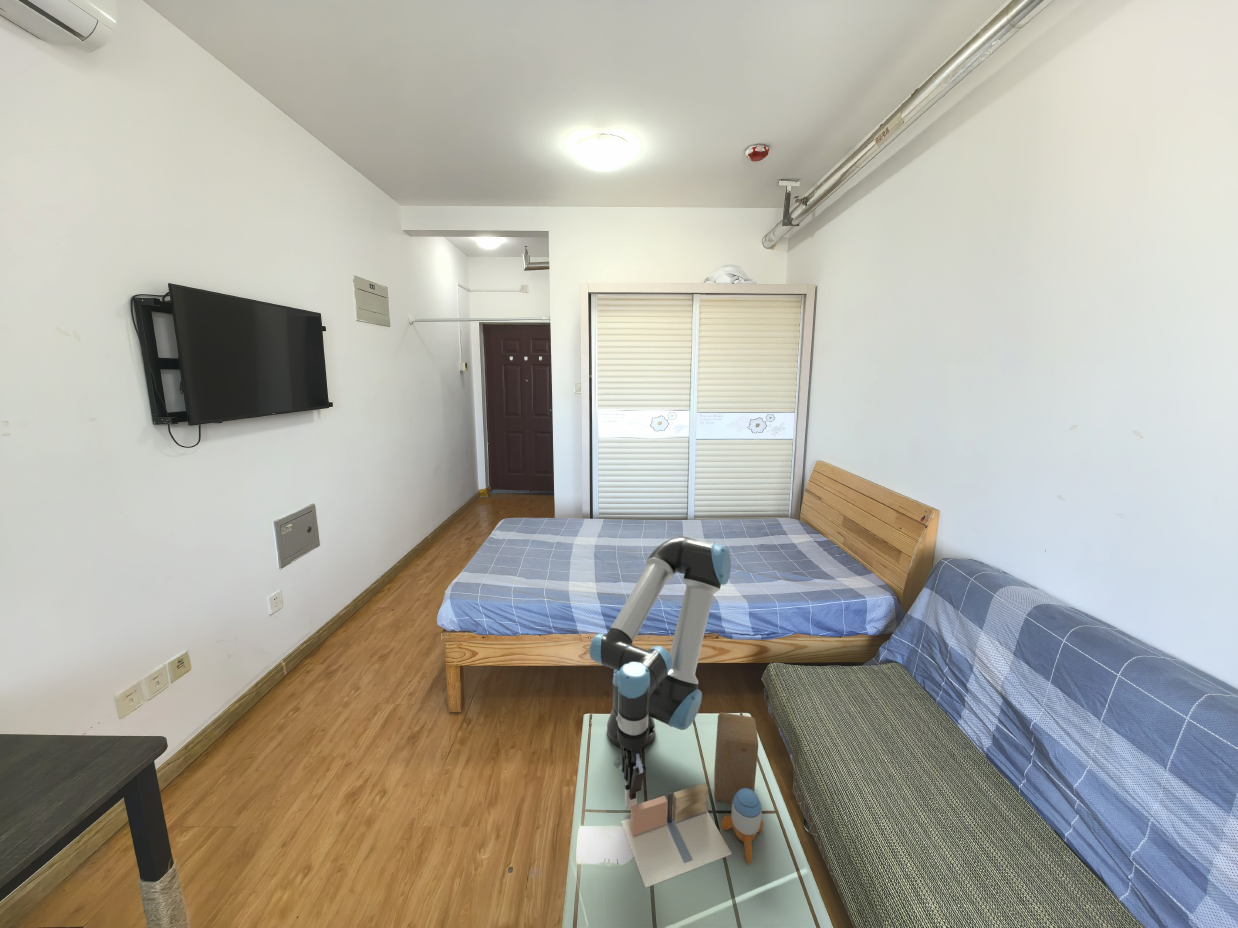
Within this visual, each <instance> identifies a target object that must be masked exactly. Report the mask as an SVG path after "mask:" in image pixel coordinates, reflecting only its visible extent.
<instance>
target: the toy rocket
mask: <svg viewBox="0 0 1238 928" xmlns="http://www.w3.org/2000/svg"><path fill="white" fill-rule="evenodd" d="M762 813H763V812H762V803H761V800H760V798H759V796H758V794H757V793H756V792H755V790H754V791H753V790H751V789H748V788H742V789H740V790H739V791H738V792H737V793H736V794H735V796H734V799H733V803H732V804H731V813H730V814H728V815H725V816H723V817H722V819H721V820H720V821H721V822H720V824H721V825H720V826H721V829H722V830H724V831H728V830H730V829H731V828H732V829H733V831H734V833H735V835H736V837H737V838H738V840H739V841H740V842H741V843H742V844H743V845H744V855H745V861H746V863H747V864H748V865H751V863H752V859H753V848H752V846H753V845H752V841H753V840H754V839H755V837H756V836H757V834H758V833H762V832H763V829H764V821H763V819H762V815H763V814H762Z"/></svg>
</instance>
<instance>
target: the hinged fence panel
mask: <svg viewBox="0 0 1238 928" xmlns="http://www.w3.org/2000/svg"><path fill="white" fill-rule="evenodd" d="M667 806H668V798H666V796H665V795H663V796H660V797H656V798H653V799H650V800H647V801H643V802H641V803H637V805H634V806H631V807H630V818H631V828H630V830H631V833H632V835H633V836H634V835H637V834H640V833H643V832H646V831H649V830H652V829H655V828H658V827H660V826H663V825H666V824H667Z"/></svg>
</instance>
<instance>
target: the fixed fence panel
mask: <svg viewBox="0 0 1238 928" xmlns="http://www.w3.org/2000/svg"><path fill="white" fill-rule="evenodd" d="M708 797H709V787H708V785H707V783H706V782H703V783H700V784H696V785H694V786H690V787H687V788H683V789H681V790H678V791H675V792H672V791H668V793H667V806H668V810H667V822H668V823H671V822H672V817H673V819H674V821H675V822H678V821H681V820H683V819H686V818H689V817H692V816H695V815H698V814H701V813H704V812H707V811H708ZM672 806H673V813H672Z"/></svg>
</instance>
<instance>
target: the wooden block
mask: <svg viewBox="0 0 1238 928" xmlns="http://www.w3.org/2000/svg"><path fill="white" fill-rule="evenodd" d="M758 752H759V739H758V729H757V722H756V719H755V718H754V717H753V716H748V715H740V714H736V713H734V714H733V713H728V712H722V711H721V712H719V713H718V715H717V724H716V741H715V753H714V755H715V756H714V770H713V771H714V773H713V781H714V782H713V783H714V784H713V787H714V788H713V790H714V791H713V794H714V796H713V797H714V798H715V799H714V800H715V801H717V802H721V803H727V804H731V805H732V803H733V799H734V796H735V794H736V793H737V792H738V791H739V790H740V789H742V788H748V789H751V790H753V791H754V792H755V789H756V776H757V765H758V754H759V753H758Z"/></svg>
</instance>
